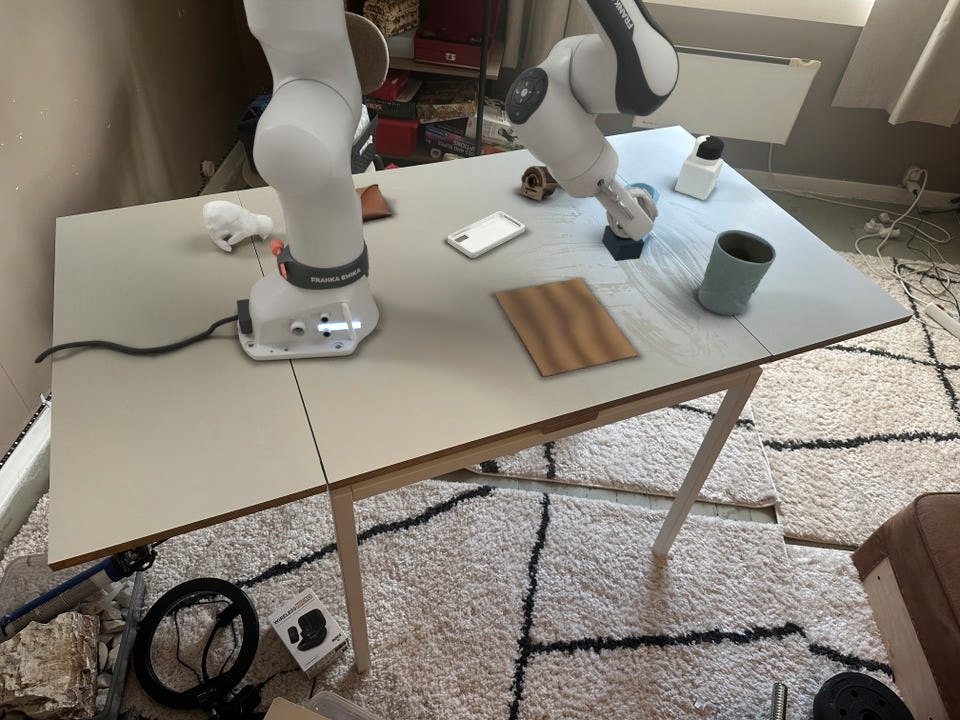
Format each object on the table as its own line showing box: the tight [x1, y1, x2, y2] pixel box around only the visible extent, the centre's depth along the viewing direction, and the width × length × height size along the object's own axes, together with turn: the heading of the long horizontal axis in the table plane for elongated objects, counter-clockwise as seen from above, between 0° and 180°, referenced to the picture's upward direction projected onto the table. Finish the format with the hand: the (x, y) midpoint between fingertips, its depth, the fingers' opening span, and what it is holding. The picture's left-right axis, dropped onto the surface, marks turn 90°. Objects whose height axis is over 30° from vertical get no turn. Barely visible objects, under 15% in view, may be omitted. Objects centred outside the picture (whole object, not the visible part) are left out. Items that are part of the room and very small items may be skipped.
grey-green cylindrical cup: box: [697, 229, 777, 316], centre depth 113 cm, size 10×10×12 cm
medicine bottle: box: [674, 134, 725, 201], centre depth 141 cm, size 7×7×12 cm
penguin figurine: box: [202, 200, 275, 253], centre depth 117 cm, size 6×8×12 cm
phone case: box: [447, 210, 526, 259], centre depth 126 cm, size 7×1×15 cm
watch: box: [601, 187, 659, 262], centre depth 102 cm, size 6×8×11 cm
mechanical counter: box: [520, 165, 563, 201], centre depth 137 cm, size 7×13×10 cm
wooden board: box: [494, 277, 638, 378], centre depth 109 cm, size 17×21×1 cm
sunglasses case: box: [355, 183, 394, 223], centre depth 127 cm, size 18×7×7 cm, turn 121°
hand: (628, 216), depth 101 cm, fingers closed on watch, 4 cm apart
